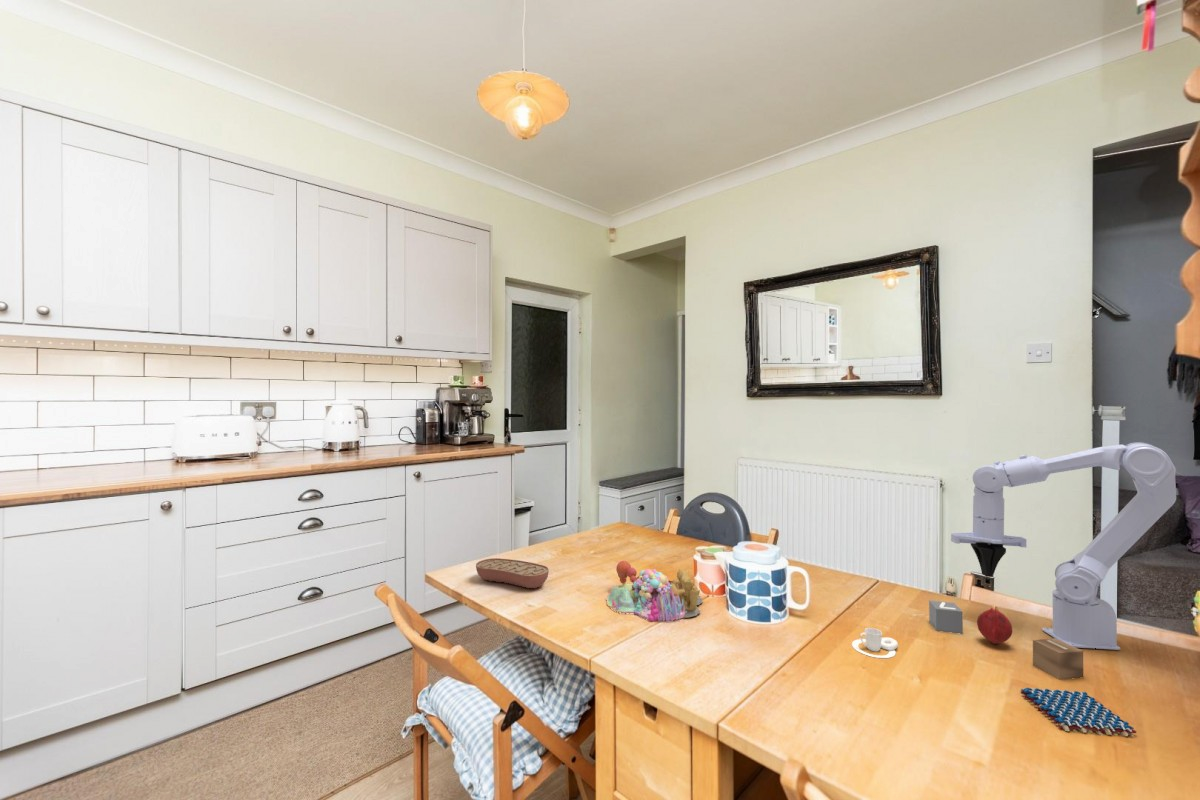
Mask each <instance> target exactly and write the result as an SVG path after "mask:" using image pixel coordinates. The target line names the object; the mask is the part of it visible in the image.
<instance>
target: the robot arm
mask: <svg viewBox="0 0 1200 800" xmlns="http://www.w3.org/2000/svg"><path fill="white" fill-rule="evenodd" d="M993 464H994V465H992V464H984V465H982V466H979V467H978V468H977V469H976V470H975V471H974V472H973V475H972V482H973V484H974V488H973V494H974V495H973V497H972V498H973V499H972V501H973V503H972V505H973V506H972V532H958V533H957V532H951V533H950V541H951V543H954V544H961V543H962V544H970V547H971V548H972V549H973V552H974V553H975V556H976V558H977V560H978V563H979V566H980V571H981V575H983V576H985V577H988V578H993V577H994V574H995V571H996V569H997V566H998V564H999V562H1000V561H1001V559H1002V558H1003V557H1004V556H1005V554H1006V553H1007V548H1006V546H1008V547H1020V548H1027V538H1025V537H1022V536H1016V535H1015V536H1014V535H1005V498H1004V487H1009V488H1014V487H1019V486H1026V485H1031V484H1035V483H1036V484H1037V483H1041V482H1045V481H1046V480H1047V479H1048V477H1049V476H1050V475H1051V474H1056V473H1064V472H1069V471H1077V470H1081V469H1088V468H1094V467H1100V468H1101V467H1102V468H1106V469H1111V470H1115V471H1120V470H1121V469H1120V467H1121V466H1122V467H1123V468H1124V470H1125V471H1126V472H1127V473H1128V474H1129V475H1130V476H1131V479H1132V481H1133V484H1134V486H1135V489H1136V491H1137V493H1136V495H1134V496H1133V497H1132V498H1131V500H1130V501H1128V503H1126V505H1125V506H1124V507H1123V508H1122V509H1121V510H1120V511H1119V513H1117V514H1116V515H1115V517H1113V519H1112V520H1110V521H1109V523H1108V524H1107V525H1106V526H1105V527H1104V528H1103V529H1102V530H1101V531H1100V532H1099V533H1098V534H1097V535H1096V537H1095V538H1094V539H1093V540H1092V541H1091V542H1090V543H1089V544H1088V545H1087V546H1086V547H1085V548H1084V549H1083V550H1082V551H1080V552H1078V553H1077V554H1076V555H1074V556H1073V558H1071V559H1070V560H1068V561H1063V562H1061V563H1060V564H1058V565H1057V566H1056V568H1055V570H1054V576H1055V582H1054V583H1055V584H1054V585H1055V588H1056V589H1053V590H1052V627H1051V628H1050V627H1042V628H1041V630H1042V631H1043V632H1044V633H1046V634H1048V635H1049V636H1051V638H1056V639H1058V640H1060V641H1062V642H1065V643H1067V644H1069V645H1071V646H1073V647H1075V648H1078V649H1081V648H1082V649H1095V648H1096V649H1099V650H1113V651H1115V650H1116V651H1120V650H1121V647H1120V646H1119V645H1118V643H1117V642H1118V636H1117V635H1118V633H1117V632H1118V630H1117V628H1118V626H1117V625H1118V624H1117V623H1118V620H1117V614H1116V612H1115V609H1114V608H1113V607H1112V605H1111V604H1110V603H1109V602H1108V601H1106V600H1104V599H1102V598H1099V597H1097V595H1098V589H1099V586H1100V584H1101V583H1102V582H1103V581H1104V579H1105V578H1106V576H1107V575H1108V572H1109V570H1110V569H1111V568H1112V567H1113V566H1114V565H1115V564H1116V562H1118V561H1119V560H1120V559H1121V558H1122V557H1123V556H1124V555H1125V553H1127V551H1128V550H1130V549H1131V548H1132V547H1133V546H1134V544H1136V543H1137V542H1138V540H1140V539H1141V537H1143V536H1144V535H1145V534H1146V533H1147V532H1148V531H1149V530H1150V529H1151V528H1152V526H1153V525H1154V524H1156V523H1157V522H1158V520H1159V519H1160V518H1162V517H1163V516H1164V515H1165V514H1166V512H1167V511H1168V510H1170V508H1171V507H1173V505H1174V504H1175V502H1176V501H1177V487H1176V486H1177V485H1176V473H1177V468H1176V467H1175V465H1174V463H1173V461H1172V460H1171V458H1170V456H1169V455H1168V454H1167V453H1166V452H1165V451H1164V450H1163V449H1162V448H1159V447H1157V446H1154V445H1153V444H1150V443H1147V442H1131V443H1128V444H1126V445H1124V444H1112V445H1107V446H1106V445H1105V446H1099V447H1093V448H1089V449H1085V450H1081V451H1080V450H1079V451H1077V452H1072V453H1068V454H1065V455H1064V454H1063V455H1058V456H1055V457H1050V458H1047V459H1043V458H1041V457H1038V456H1035V455H1031V456H1028V455H1027V454H1022V455H1019V457H1018V458H1016V459H1012V460H1011V459H1010V460H1007V461H1002V462H1000V460H997V461H994V462H993ZM1004 546H1005V547H1004Z"/></svg>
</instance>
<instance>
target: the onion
mask: <svg viewBox="0 0 1200 800" xmlns="http://www.w3.org/2000/svg"><path fill="white" fill-rule="evenodd" d="M976 625H977V629H978V631H979V632H980V635H982V636H983V637H984V638H985V639H986V640H987V641H988V642H990V643H991V644H993V645H999V644H1001V643H1005V642H1007V641H1008V640H1009V639H1010V638H1011V637H1012V635H1013V627H1012V623H1011V622H1010V620H1009V619H1008V617H1007V616H1006V615H1005V614H1004V613H1002V612H1001V611H999V609H998V607H997V606H996V605H994V604H993V605H991V606H990V609H988V610H987V609H986V610H985V611H983V612H981V613H980V614H979V616H978V618H977V621H976Z"/></svg>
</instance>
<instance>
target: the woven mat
mask: <svg viewBox="0 0 1200 800" xmlns="http://www.w3.org/2000/svg"><path fill="white" fill-rule="evenodd" d="M1020 694H1022V696H1023V698H1024V699H1026V700H1028V701H1029V702H1030V703H1031V704H1032V705H1033V706H1034V707H1036V709H1037V710H1038V711H1040V712H1042V714H1044V715H1045V717H1047V718H1048V719H1050V721H1052V722H1053V723H1054V724H1056V725H1057V727H1058V728H1059V729H1061V730H1062V731H1064V732H1071V731H1072V732H1074V733H1078V731H1079V732H1080V733H1081V734H1086V733H1089V734H1093V733H1096V734H1097V735H1098V736H1105V734H1106V735H1107V736H1112V735H1113V736H1119V735H1118V734H1120V736H1121V737H1128V736H1129V737H1130V738H1136V736H1135V735H1134V734H1137V730H1135V729H1134V727H1133V726H1131V725H1129V724H1130V723H1129V722H1128V721H1125V720H1123V719H1121V717H1120V716H1119V715H1118V714H1117V715H1116V714H1115V713H1114V712H1113V711H1112V710H1111V709H1110V708H1106V707H1105V706H1104V704H1103V703H1100V702H1098V701H1096V699H1095V698H1094V697H1092V696H1090V695H1089V694H1088V692H1086V691H1082V692H1081V691H1077V690H1074V691H1072V690H1066V689H1065V690H1064V689H1054V690H1053V689H1048V688H1045V689H1044V688H1038V687H1036V688H1034V687H1033V688H1032V687H1026V688H1021V689H1020ZM1077 730H1078V731H1077ZM1093 731H1094V732H1093Z"/></svg>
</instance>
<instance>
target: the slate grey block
mask: <svg viewBox="0 0 1200 800" xmlns="http://www.w3.org/2000/svg"><path fill="white" fill-rule="evenodd" d="M928 604H929V605H928V609H929V610H928V612H929V613H928V615H929V617H928V618H929V623H930V624H931V626H932V627H933V628H935V629H934V630H935V631H936V632H940V631H943V632H942V633H949V632H952V634H957V633H960V634H959V635H963V634H964V632H963V630H964V629H963V622H964V620H963V617H964V616H963V614H964V613H963V611H962V609H961V608H960V606H958V605H957V604H956V603H955V602H951V601H950V602H948V601H941V600H940V601H939V600H938V601H937V600H929V601H928Z"/></svg>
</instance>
